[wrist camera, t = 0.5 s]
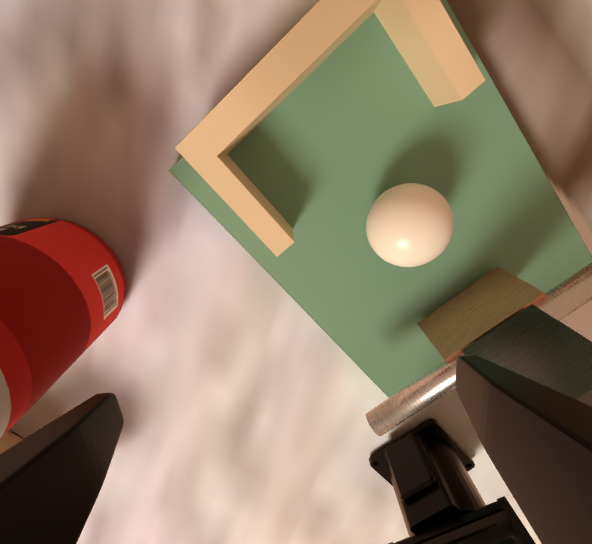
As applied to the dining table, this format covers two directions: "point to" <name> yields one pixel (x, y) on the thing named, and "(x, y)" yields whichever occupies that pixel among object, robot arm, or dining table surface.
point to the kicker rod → (502, 340)
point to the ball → (409, 225)
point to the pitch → (376, 175)
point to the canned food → (50, 305)
